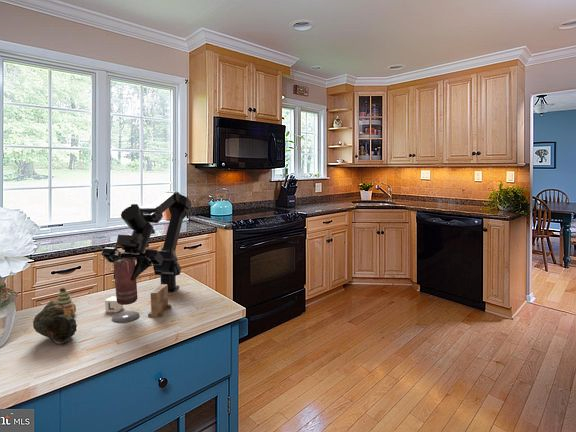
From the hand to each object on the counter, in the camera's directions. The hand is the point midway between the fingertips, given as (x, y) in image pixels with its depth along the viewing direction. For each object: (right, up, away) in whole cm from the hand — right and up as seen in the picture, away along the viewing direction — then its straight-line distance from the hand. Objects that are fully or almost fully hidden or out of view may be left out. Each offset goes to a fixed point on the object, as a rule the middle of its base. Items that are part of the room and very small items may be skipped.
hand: (123, 279), depth 115 cm
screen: (+9, -12, +8) cm, 17 cm away
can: (0, -8, +3) cm, 8 cm away
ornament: (-21, -13, +3) cm, 24 cm away
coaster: (-1, -13, +3) cm, 13 cm away
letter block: (-7, -12, +10) cm, 17 cm away
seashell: (-13, -15, -13) cm, 23 cm away
